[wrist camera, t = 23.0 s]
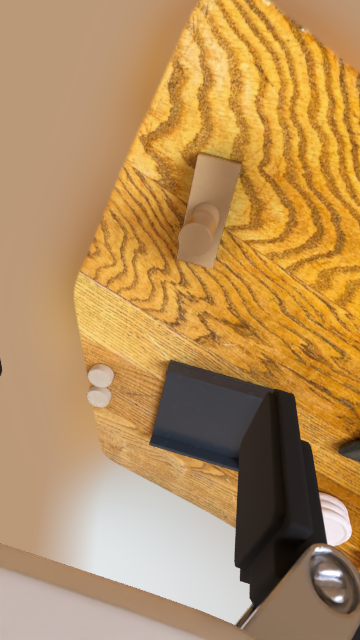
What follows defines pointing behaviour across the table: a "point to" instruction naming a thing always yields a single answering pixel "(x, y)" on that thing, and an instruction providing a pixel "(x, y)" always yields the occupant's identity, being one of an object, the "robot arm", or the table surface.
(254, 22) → the table surface
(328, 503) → the coaster
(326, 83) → the table surface
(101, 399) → the disc
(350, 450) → the tool
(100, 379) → the disc
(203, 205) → the brush
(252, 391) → the tray
